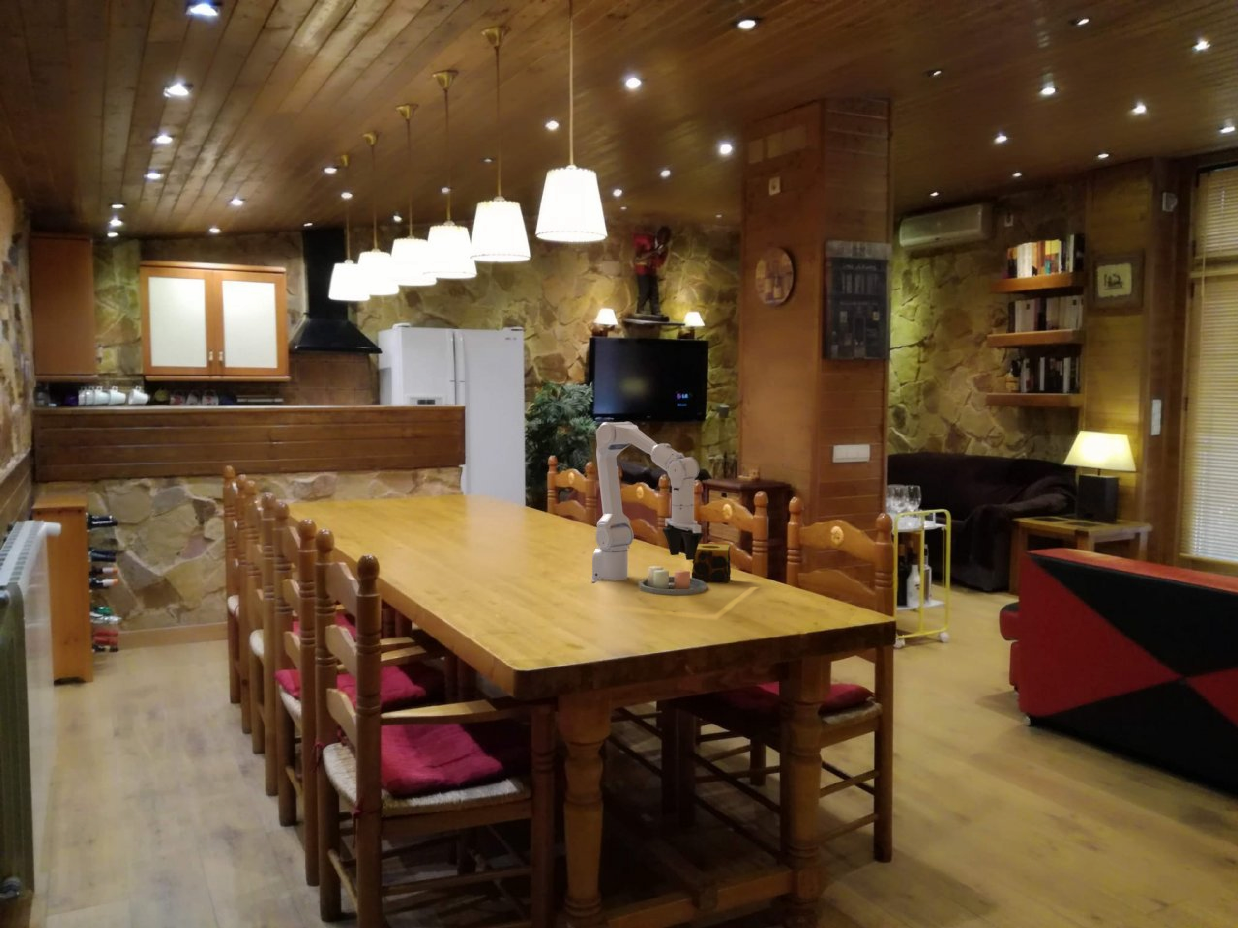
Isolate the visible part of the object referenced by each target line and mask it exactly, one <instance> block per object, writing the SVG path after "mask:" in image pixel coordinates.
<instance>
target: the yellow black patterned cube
mask: <svg viewBox="0 0 1238 928" xmlns="http://www.w3.org/2000/svg"><path fill="white" fill-rule="evenodd" d="M691 563H692V570H691V578H694V579H698V580H702V581H704V582H705V583H722V584H728V583H729V582H730V581H731V580H732V579H731V578H732V577H731V575H732V574H731V573H732V569H731V545H730V544H720V543H719V544H714V543H712V544H710V543H699V545H698V547H697V551H696V555H695V558H694V559H693V560H692V561H691Z"/></svg>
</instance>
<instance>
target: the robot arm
mask: <svg viewBox="0 0 1238 928" xmlns="http://www.w3.org/2000/svg"><path fill="white" fill-rule="evenodd" d="M595 439H596V450H595V453H596V463H597V473H598V483H599V490H600V499H601V509H602V510H601V511H602V516H601V518H600V519H599V520H598V521H597V522H596V533H595V542H596V544H597V546H598V548H595V550H594V551H593V553H592V557H591V558H592V559H591V580H590V582H591V583H596V582H598V581H601V580H604V581H605V580H606V581H613V582H614V581H617V582H618V581H625V580H628V562H629V560H628V557H629V556H628V554H629V553H628V550H629V549H630V546H631V545H632V543H633V541H634V538H635V537H634V536H635V535H634V531H633V528H632V526H631V521H630V519H629V518H628V516H626V515H625V514H624V513H623V505H622V495H621V487H620V479H619V478H620V477H619V470H618V461H617V459H618V458H617V457H618V456H619V455H620V454H621V452H622V451H624V450H625V449H626V448H628V447H630V445H633V446H634V447H637V448H638V449H640V450H641V451H643V452H644V453H646V454H649V456H650V460H651V462H652V463H654V464H655V465H656V466H658V467H659V468H661V469H662V470H664V471H665V472H667V475H668V478H669V479H670V485H671V517H670V518H664V524H665V525H664V526H666V527H662V532H663V534H664V536H665V538H666V540H667V541H666V542H667V544H668V549H669V553H670V556H678V555H679V554H680V551H681V540H683V544H684V545H683V546H684V553H685V559H686V561H690V560H691V561H693V559H694V558H695V555H696V551H697V547H698V545H699V544H700V542H701V540H702V538H703V537H704V532H702V525H701V524H698V521H697V520H695V479H696V478H698V476H699V473H700V465H699V462H698V461H697V460H696V459H695V458H694V457H692V456H689V457H685V456H684V454H683V453H682V452H678V451H677V450H675V449H673V448H672V445H671V444H669V443H664V442H663V443H659V444H658V443H657V442H656V441H654V440H653V439H652V438H650V437H649V436H648V435H647V434H645V433H644V432H643V431H641V429H639V426H637V424H634V423H632V422H631V421H624V422H623V421H621V422H620V421H619V422H607V421H605V422H602V423H601V424H600V425H599V426H598V428H597V429H596V431H595ZM684 531H685V532H684Z"/></svg>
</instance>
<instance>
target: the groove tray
mask: <svg viewBox="0 0 1238 928" xmlns="http://www.w3.org/2000/svg"><path fill="white" fill-rule="evenodd" d="M674 580H675V576H669V589H659V588H653V587H649V586H648V577H647V578H644V579H642V580H639V581H638V582H637V584H638V588H639V590H640V591H643V592H645V593H649V594H654V595H655V594H656V595H664V596H685V595H686V596H688V595H695V594H700V593H703V592H704V591H706V590H707V588H708V584H707V582H704V581H702V580H698V579H694V578H692V577H690V589H674Z"/></svg>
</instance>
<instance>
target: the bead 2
mask: <svg viewBox="0 0 1238 928" xmlns="http://www.w3.org/2000/svg"><path fill="white" fill-rule="evenodd" d="M674 577H675V580H674V589H690V578H691V571H689V570H676V571H674Z"/></svg>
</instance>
